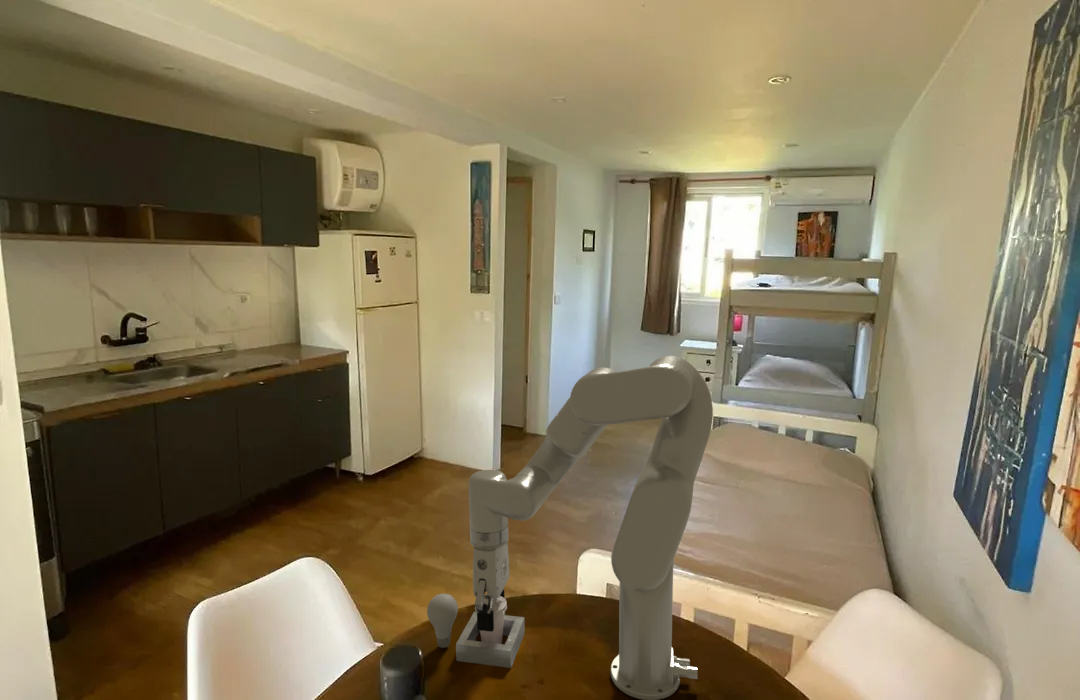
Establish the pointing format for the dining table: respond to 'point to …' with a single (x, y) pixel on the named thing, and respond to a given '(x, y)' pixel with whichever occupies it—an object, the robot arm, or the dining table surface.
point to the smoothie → (495, 621)
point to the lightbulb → (442, 617)
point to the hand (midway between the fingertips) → (491, 617)
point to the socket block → (490, 651)
